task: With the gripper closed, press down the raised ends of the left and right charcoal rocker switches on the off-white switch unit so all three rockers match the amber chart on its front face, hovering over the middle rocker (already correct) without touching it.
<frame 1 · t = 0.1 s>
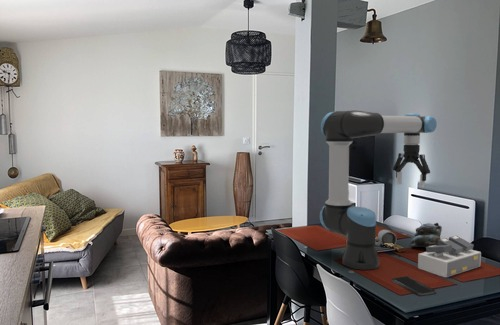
hand: (410, 185, 199), 28 cm above the table, fingers open, 13 cm apart
switch unit: (449, 267, 160), on the table
rocker 2: (450, 245, 159), point 9 cm above the table, hinge at -16.0°
lucky cat figurine: (425, 248, 187), on the table
rocker 3: (460, 242, 163), point 9 cm above the table, hinge at -16.0°
phone: (413, 288, 141), on the table
ceramic mug: (383, 245, 191), on the table
rocker 1: (438, 248, 156), point 9 cm above the table, hinge at 16.0°
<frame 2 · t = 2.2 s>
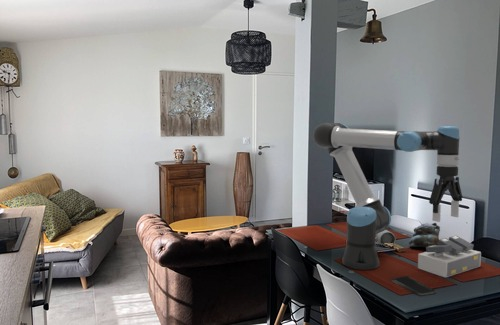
hand: (445, 219, 154), 21 cm above the table, fingers open, 13 cm apart
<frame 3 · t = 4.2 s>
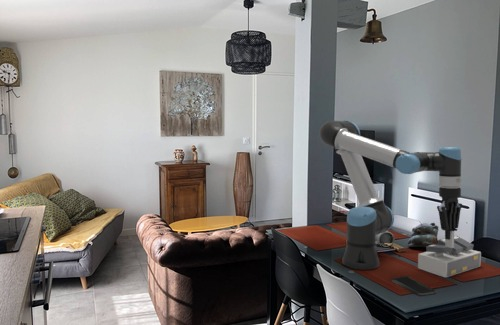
hand: (449, 247, 152), 11 cm above the table, fingers closed
rocker 1: (439, 248, 156), point 9 cm above the table, hinge at 10.3°, touching gripper
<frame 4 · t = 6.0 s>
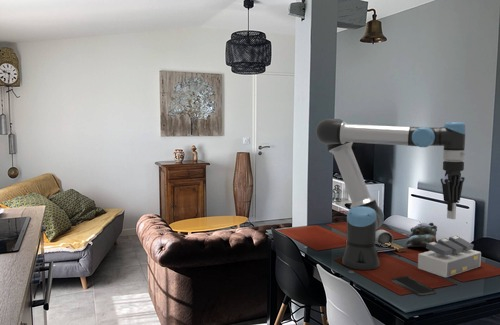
hand: (451, 218, 158), 20 cm above the table, fingers closed
rocker 1: (439, 248, 156), point 9 cm above the table, hinge at -8.2°
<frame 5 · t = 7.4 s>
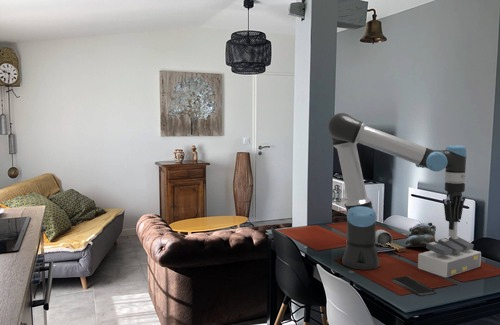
hand: (452, 236, 166), 11 cm above the table, fingers closed
rocker 3: (460, 242, 163), point 9 cm above the table, hinge at -14.0°, touching gripper
rocker 1: (439, 248, 156), point 9 cm above the table, hinge at -9.1°
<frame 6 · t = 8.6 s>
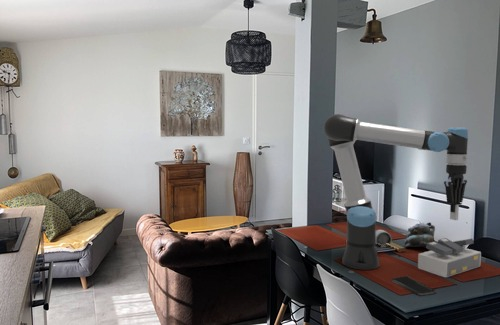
hand: (454, 219, 165), 18 cm above the table, fingers closed
rocker 3: (460, 242, 163), point 9 cm above the table, hinge at 21.9°
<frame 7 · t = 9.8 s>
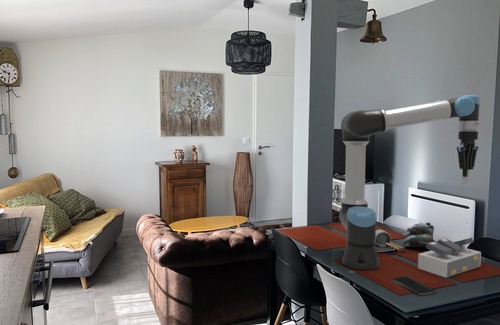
hand: (466, 184, 173), 32 cm above the table, fingers closed
rocker 3: (460, 242, 163), point 9 cm above the table, hinge at 27.5°
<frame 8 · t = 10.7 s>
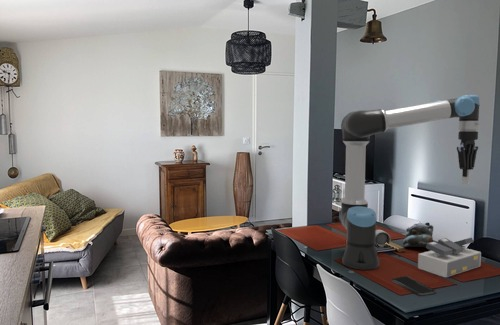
hand: (466, 184, 173), 32 cm above the table, fingers closed
rocker 3: (460, 242, 163), point 9 cm above the table, hinge at 28.4°, touching switch unit
at the end: rocker 1 at -9° (first picture: +16°); rocker 3 at +28° (first picture: -16°); rocker 2 at -16° (first picture: -16°) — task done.
